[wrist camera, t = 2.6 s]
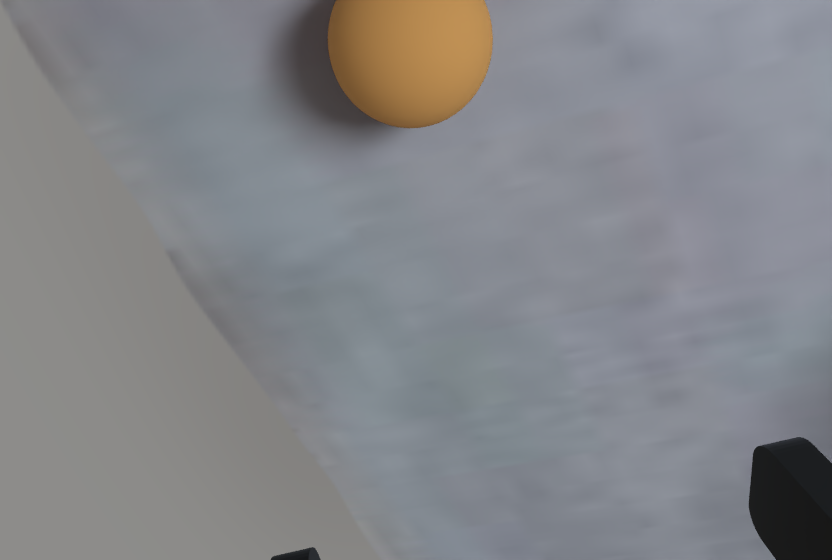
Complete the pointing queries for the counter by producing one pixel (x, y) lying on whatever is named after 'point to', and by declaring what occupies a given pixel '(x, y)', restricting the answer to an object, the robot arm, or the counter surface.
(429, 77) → the ball
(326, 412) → the counter surface
